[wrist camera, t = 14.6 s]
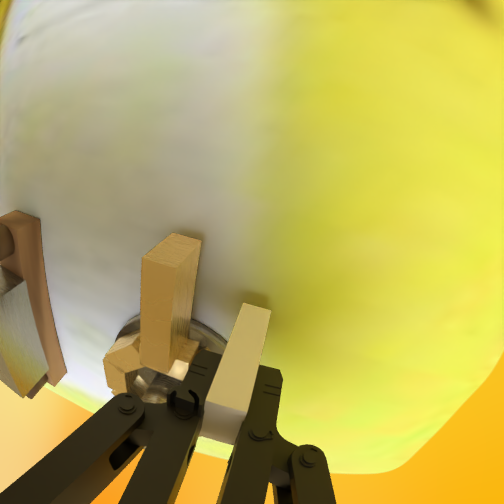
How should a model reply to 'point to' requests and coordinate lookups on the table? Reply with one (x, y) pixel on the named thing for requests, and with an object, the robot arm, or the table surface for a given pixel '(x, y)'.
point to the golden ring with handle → (159, 318)
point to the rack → (32, 285)
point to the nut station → (163, 382)
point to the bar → (18, 336)
